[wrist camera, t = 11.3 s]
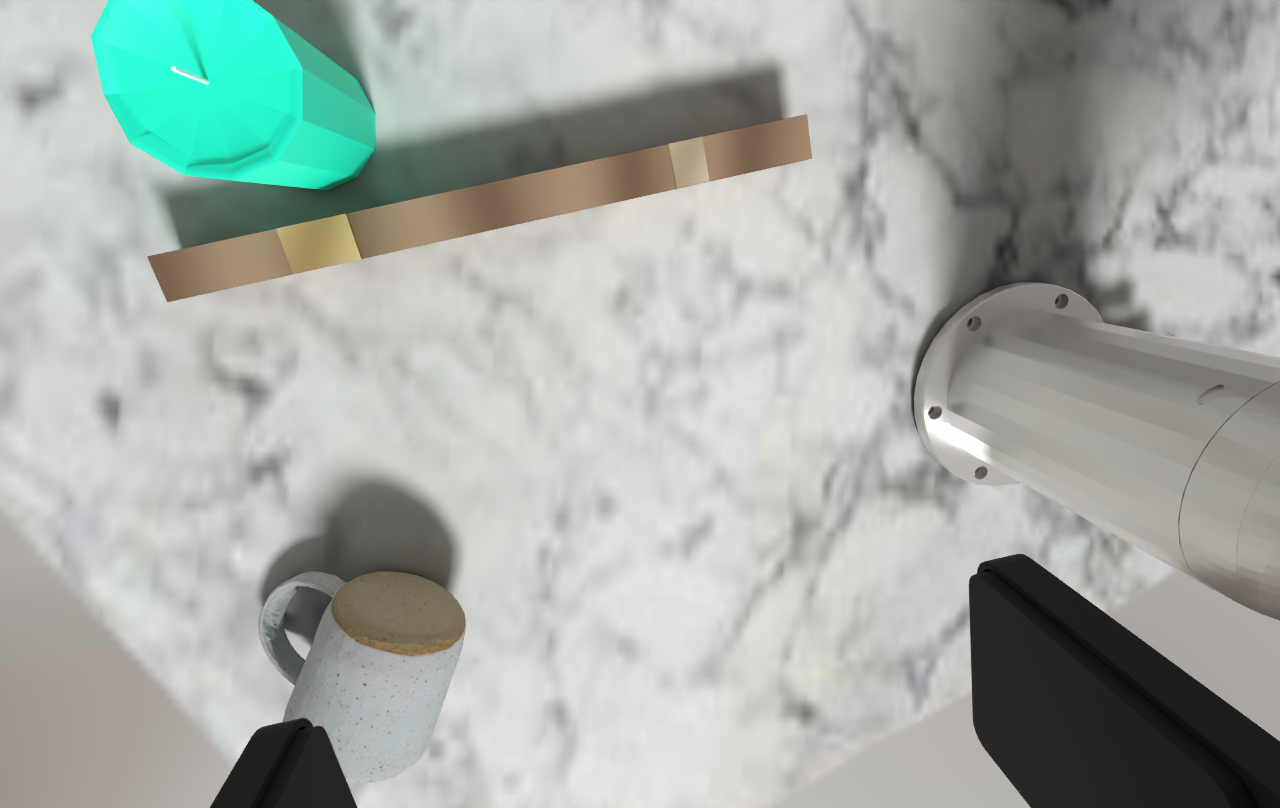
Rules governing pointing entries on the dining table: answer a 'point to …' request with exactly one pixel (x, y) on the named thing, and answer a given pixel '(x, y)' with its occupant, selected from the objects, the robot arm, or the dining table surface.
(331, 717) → the ceramic mug
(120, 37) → the candle
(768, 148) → the rail
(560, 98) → the dining table surface
